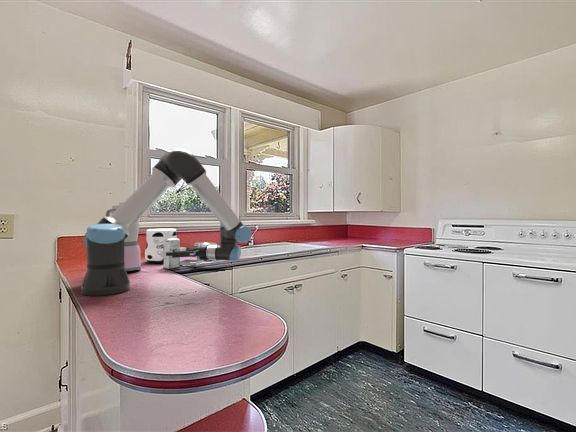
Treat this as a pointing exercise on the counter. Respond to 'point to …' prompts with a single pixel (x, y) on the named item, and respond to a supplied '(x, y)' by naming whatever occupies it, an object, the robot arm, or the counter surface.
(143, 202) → the robot arm
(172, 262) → the syrup box
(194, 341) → the counter surface
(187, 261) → the steel flange
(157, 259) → the milk container
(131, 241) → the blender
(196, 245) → the pillow block with shaft stub
